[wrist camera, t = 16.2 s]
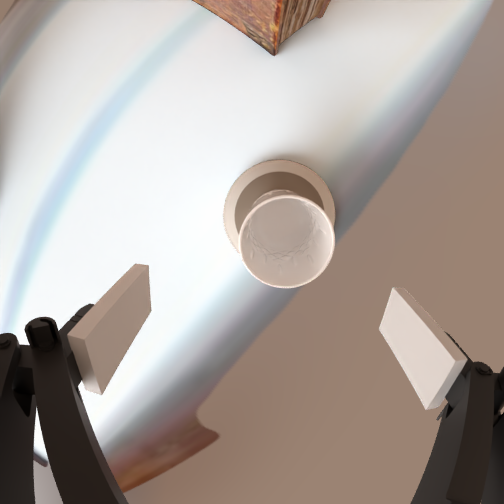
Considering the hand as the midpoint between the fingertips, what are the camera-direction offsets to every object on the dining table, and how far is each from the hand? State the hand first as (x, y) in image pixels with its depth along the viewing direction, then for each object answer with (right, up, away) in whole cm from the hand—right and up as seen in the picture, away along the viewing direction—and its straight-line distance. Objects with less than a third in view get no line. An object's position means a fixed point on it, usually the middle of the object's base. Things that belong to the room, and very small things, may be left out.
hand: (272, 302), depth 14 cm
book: (-4, +37, +10) cm, 39 cm away
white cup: (+2, +6, +18) cm, 19 cm away
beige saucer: (+2, +7, +19) cm, 21 cm away
